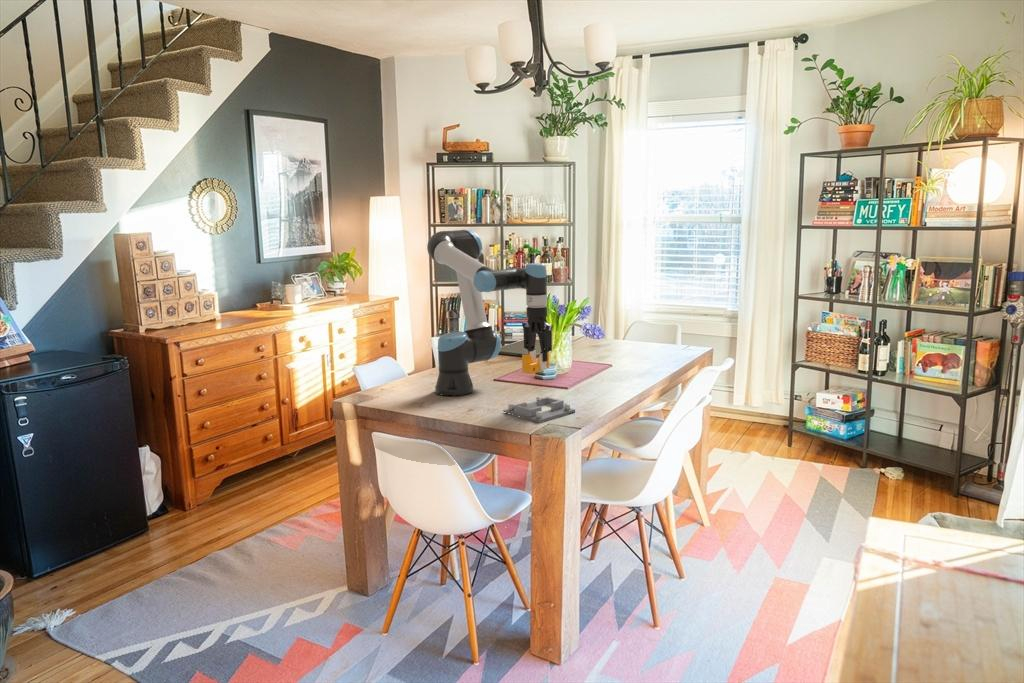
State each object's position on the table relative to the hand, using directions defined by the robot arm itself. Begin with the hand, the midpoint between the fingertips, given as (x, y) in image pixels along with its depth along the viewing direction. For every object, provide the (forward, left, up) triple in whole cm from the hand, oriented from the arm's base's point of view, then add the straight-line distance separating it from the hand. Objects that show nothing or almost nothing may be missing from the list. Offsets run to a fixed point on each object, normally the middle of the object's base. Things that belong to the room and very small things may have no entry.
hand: (538, 369), depth 267 cm
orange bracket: (0, 0, -1) cm, 1 cm away
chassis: (+9, -9, -13) cm, 18 cm away
